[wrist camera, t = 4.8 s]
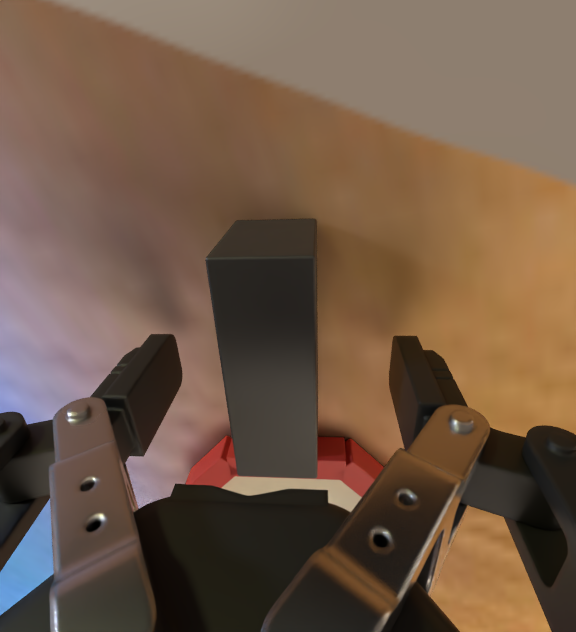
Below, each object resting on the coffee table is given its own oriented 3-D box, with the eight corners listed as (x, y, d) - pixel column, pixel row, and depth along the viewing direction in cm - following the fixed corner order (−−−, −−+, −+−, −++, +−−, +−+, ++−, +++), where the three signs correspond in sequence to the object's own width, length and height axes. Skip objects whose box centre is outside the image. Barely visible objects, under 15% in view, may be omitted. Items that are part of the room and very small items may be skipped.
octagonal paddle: (135, 222, 13) (68, 259, 10) (425, 215, 13) (467, 253, 9) (215, 576, 24) (197, 657, 20) (379, 586, 23) (390, 672, 19)
